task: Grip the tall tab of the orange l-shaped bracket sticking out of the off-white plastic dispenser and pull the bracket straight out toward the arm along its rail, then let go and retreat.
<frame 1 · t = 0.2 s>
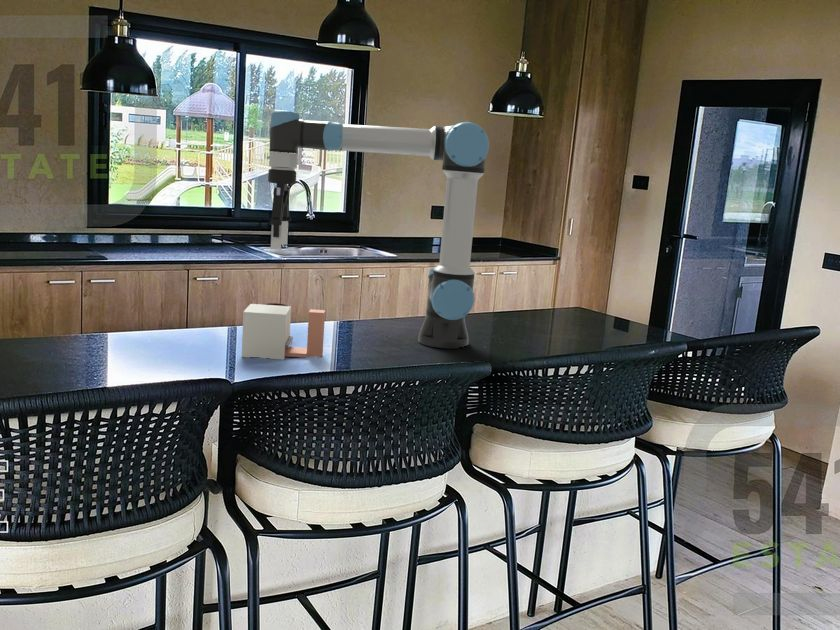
hand: (279, 246, 233), 27 cm above the table, fingers open, 13 cm apart
mug: (276, 339, 244), on the table
dispenser: (266, 352, 226), on the table
orange l-shaped bracket: (288, 331, 225), point 6 cm above the table, slide at 0.0 cm
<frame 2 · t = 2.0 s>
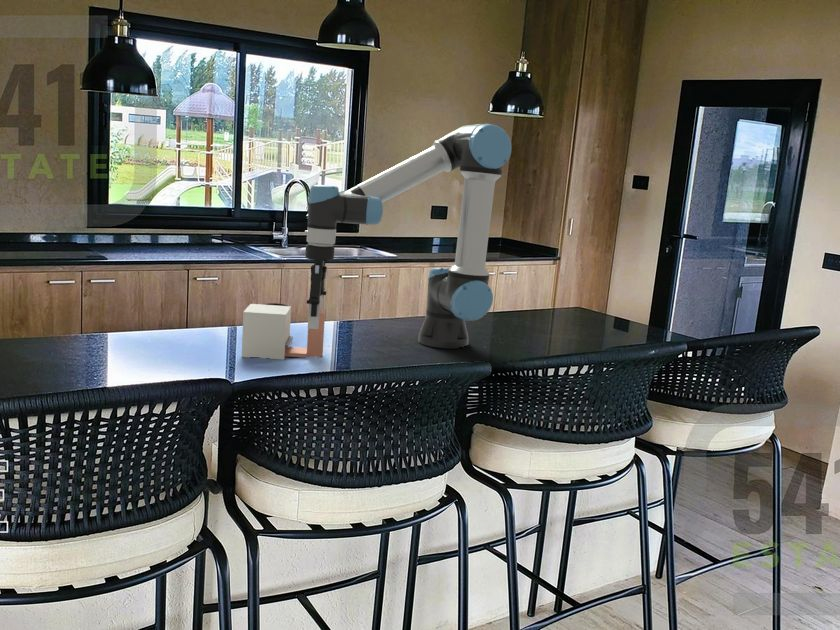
hand: (315, 323, 225), 9 cm above the table, fingers open, 13 cm apart
nothing on the table moved.
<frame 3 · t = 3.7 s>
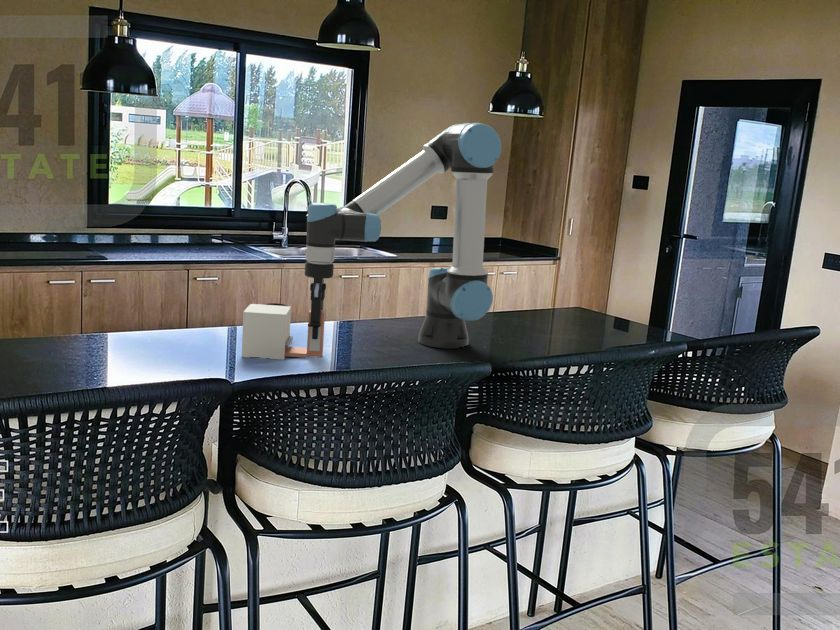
hand: (315, 348, 227), 2 cm above the table, fingers closed on orange l-shaped bracket, 4 cm apart
orange l-shaped bracket: (288, 331, 225), point 6 cm above the table, slide at 0.0 cm, touching gripper
everything else where it was.
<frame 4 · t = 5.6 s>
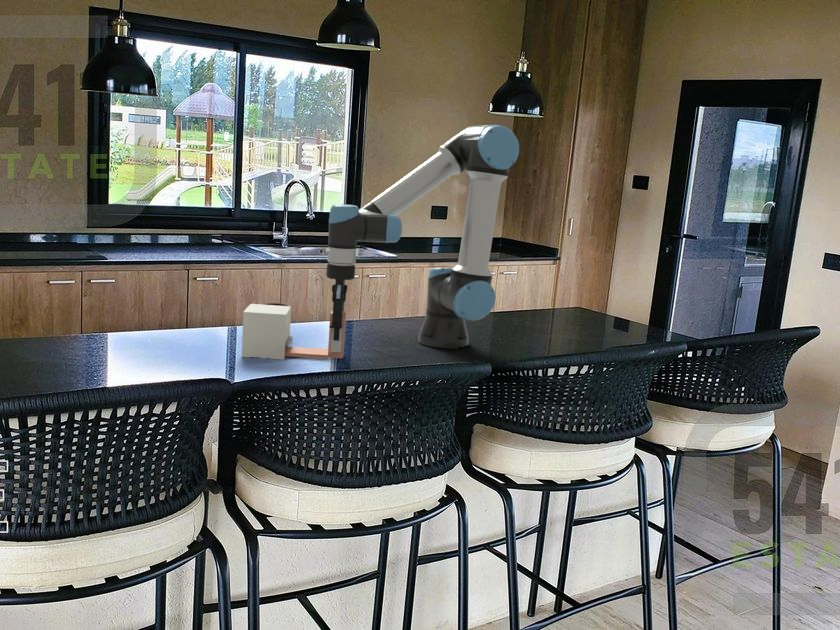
hand: (336, 349, 227), 2 cm above the table, fingers closed on orange l-shaped bracket, 4 cm apart
orange l-shaped bracket: (309, 332, 226), point 6 cm above the table, slide at 5.6 cm, touching gripper
everything else where it was.
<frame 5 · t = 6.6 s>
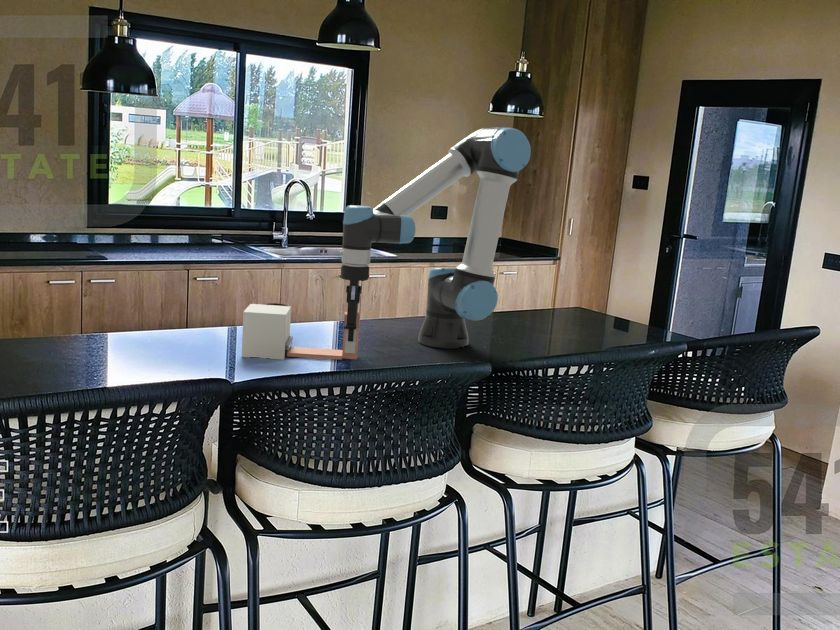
hand: (350, 350, 227), 2 cm above the table, fingers closed on orange l-shaped bracket, 4 cm apart
orange l-shaped bracket: (324, 333, 226), point 6 cm above the table, slide at 9.4 cm, touching gripper
everything else where it was.
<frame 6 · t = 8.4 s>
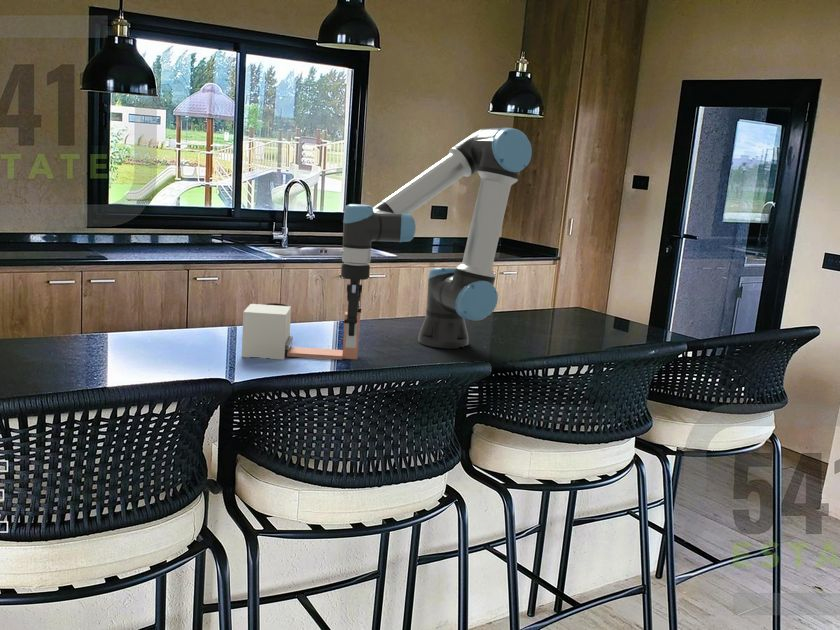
hand: (351, 341, 227), 5 cm above the table, fingers open, 13 cm apart
orange l-shaped bracket: (324, 333, 226), point 6 cm above the table, slide at 9.5 cm
everything else where it was.
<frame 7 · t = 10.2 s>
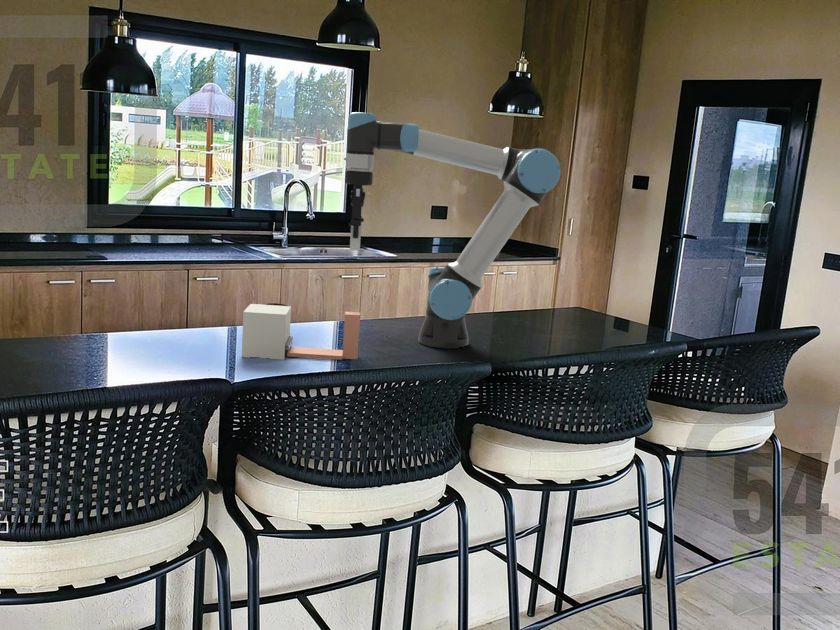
hand: (355, 247, 235), 28 cm above the table, fingers open, 13 cm apart
nothing on the table moved.
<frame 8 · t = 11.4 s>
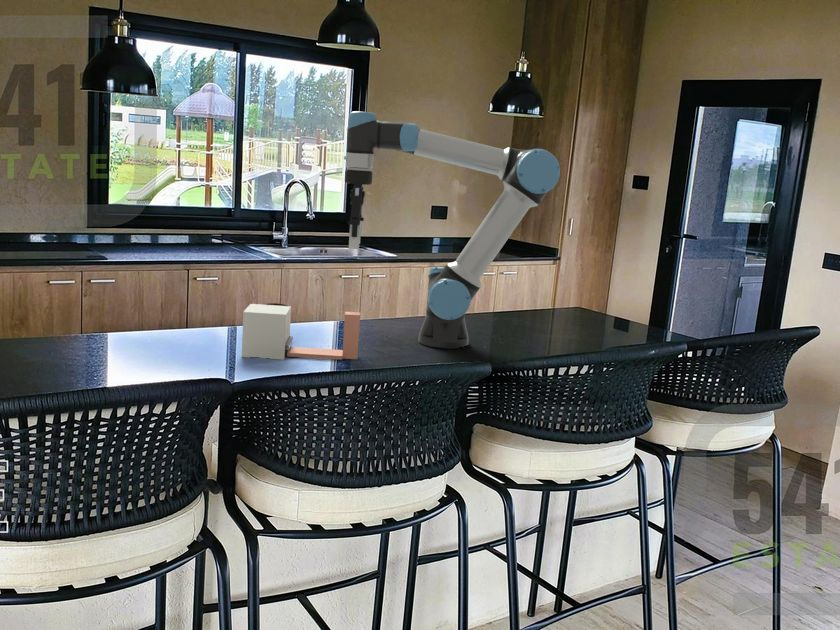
hand: (354, 246, 236), 29 cm above the table, fingers open, 13 cm apart
nothing on the table moved.
at the end: orange l-shaped bracket slide at 9.5 cm; the gripper is holding nothing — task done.
